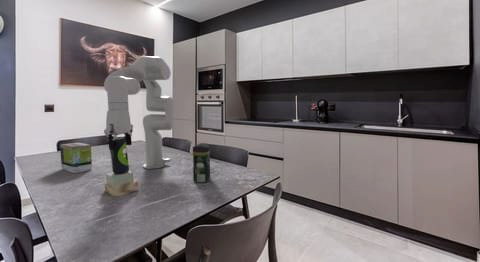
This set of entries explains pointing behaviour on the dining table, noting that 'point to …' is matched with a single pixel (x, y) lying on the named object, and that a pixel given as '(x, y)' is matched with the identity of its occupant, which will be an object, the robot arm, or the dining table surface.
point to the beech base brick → (121, 188)
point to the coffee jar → (201, 163)
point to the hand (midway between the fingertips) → (120, 147)
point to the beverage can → (120, 157)
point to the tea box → (76, 157)
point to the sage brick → (119, 178)
